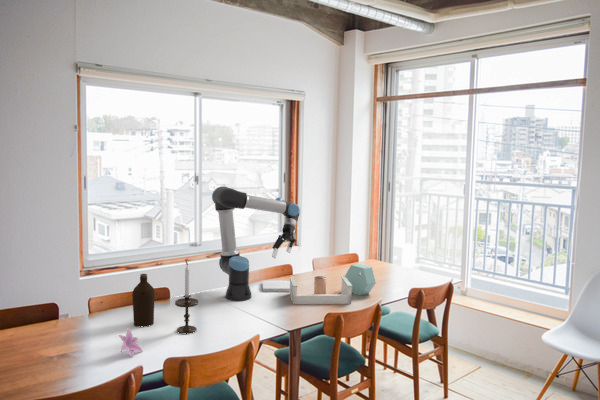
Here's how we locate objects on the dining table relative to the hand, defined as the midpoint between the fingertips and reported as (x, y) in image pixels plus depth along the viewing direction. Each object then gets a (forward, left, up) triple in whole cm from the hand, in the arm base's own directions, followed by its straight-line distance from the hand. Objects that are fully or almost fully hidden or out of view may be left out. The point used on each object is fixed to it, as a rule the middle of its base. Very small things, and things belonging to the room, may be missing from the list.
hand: (280, 254), depth 299 cm
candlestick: (-49, -60, -24) cm, 81 cm away
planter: (+50, +1, -24) cm, 56 cm away
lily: (-70, -86, -24) cm, 114 cm away
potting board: (-1, +13, -24) cm, 27 cm away
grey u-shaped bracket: (+23, -11, -24) cm, 35 cm away
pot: (+23, -11, -24) cm, 35 cm away
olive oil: (-71, -50, -24) cm, 90 cm away
